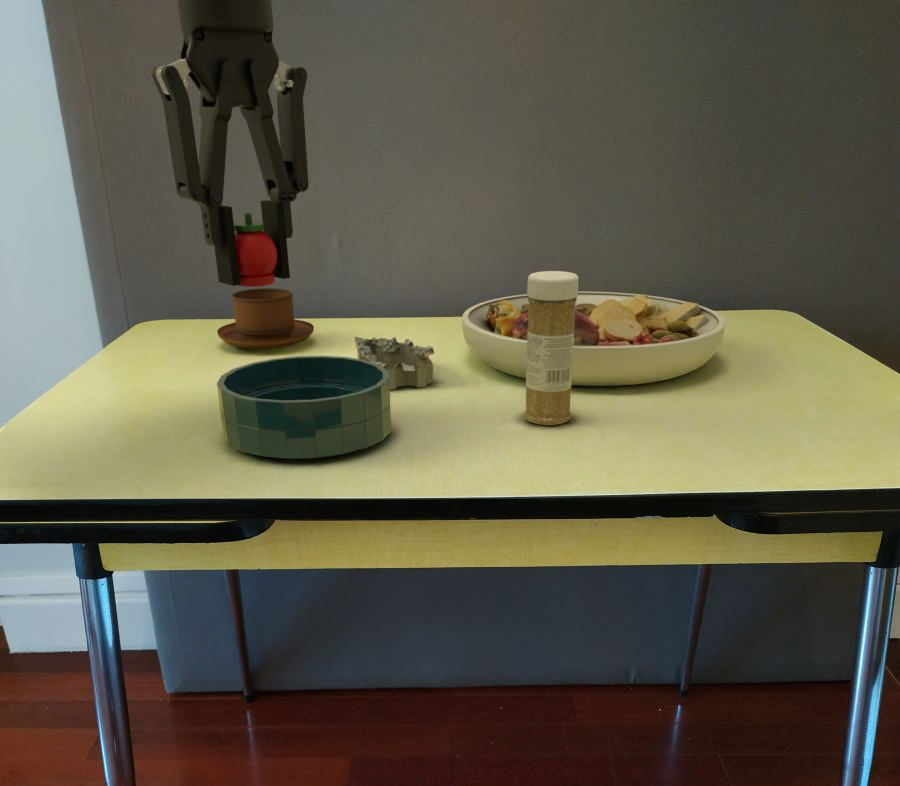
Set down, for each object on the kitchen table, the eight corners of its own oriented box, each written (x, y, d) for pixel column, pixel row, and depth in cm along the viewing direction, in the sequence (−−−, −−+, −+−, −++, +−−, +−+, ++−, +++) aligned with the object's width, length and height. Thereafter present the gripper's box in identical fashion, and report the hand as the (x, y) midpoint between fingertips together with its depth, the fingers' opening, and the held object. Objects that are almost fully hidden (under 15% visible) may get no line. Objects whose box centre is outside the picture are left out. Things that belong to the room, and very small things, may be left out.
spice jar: (566, 411, 90) (574, 269, 83) (574, 426, 86) (582, 278, 79) (520, 412, 90) (525, 269, 83) (525, 427, 86) (530, 278, 79)
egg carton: (438, 387, 98) (437, 349, 96) (369, 393, 96) (367, 354, 94) (417, 362, 107) (416, 326, 105) (353, 366, 105) (351, 330, 103)
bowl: (494, 324, 124) (495, 263, 120) (722, 337, 117) (730, 273, 113) (431, 384, 99) (429, 309, 95) (715, 404, 92) (727, 325, 88)
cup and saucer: (214, 337, 119) (208, 288, 116) (305, 330, 122) (301, 282, 119) (224, 359, 109) (217, 306, 106) (323, 351, 112) (319, 299, 109)
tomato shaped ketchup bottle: (245, 289, 82) (237, 217, 79) (220, 282, 85) (212, 213, 82) (289, 283, 84) (283, 213, 81) (263, 277, 87) (257, 209, 84)
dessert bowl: (279, 478, 75) (273, 413, 72) (196, 433, 85) (188, 374, 82) (424, 438, 83) (423, 379, 81) (333, 401, 94) (329, 347, 91)
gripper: (137, -38, 65) (185, 298, 77) (338, -22, 75) (355, 273, 87) (96, -28, 70) (147, 286, 82) (290, -14, 80) (312, 264, 92)
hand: (254, 279), depth 84 cm, fingers closed on tomato shaped ketchup bottle, 4 cm apart
